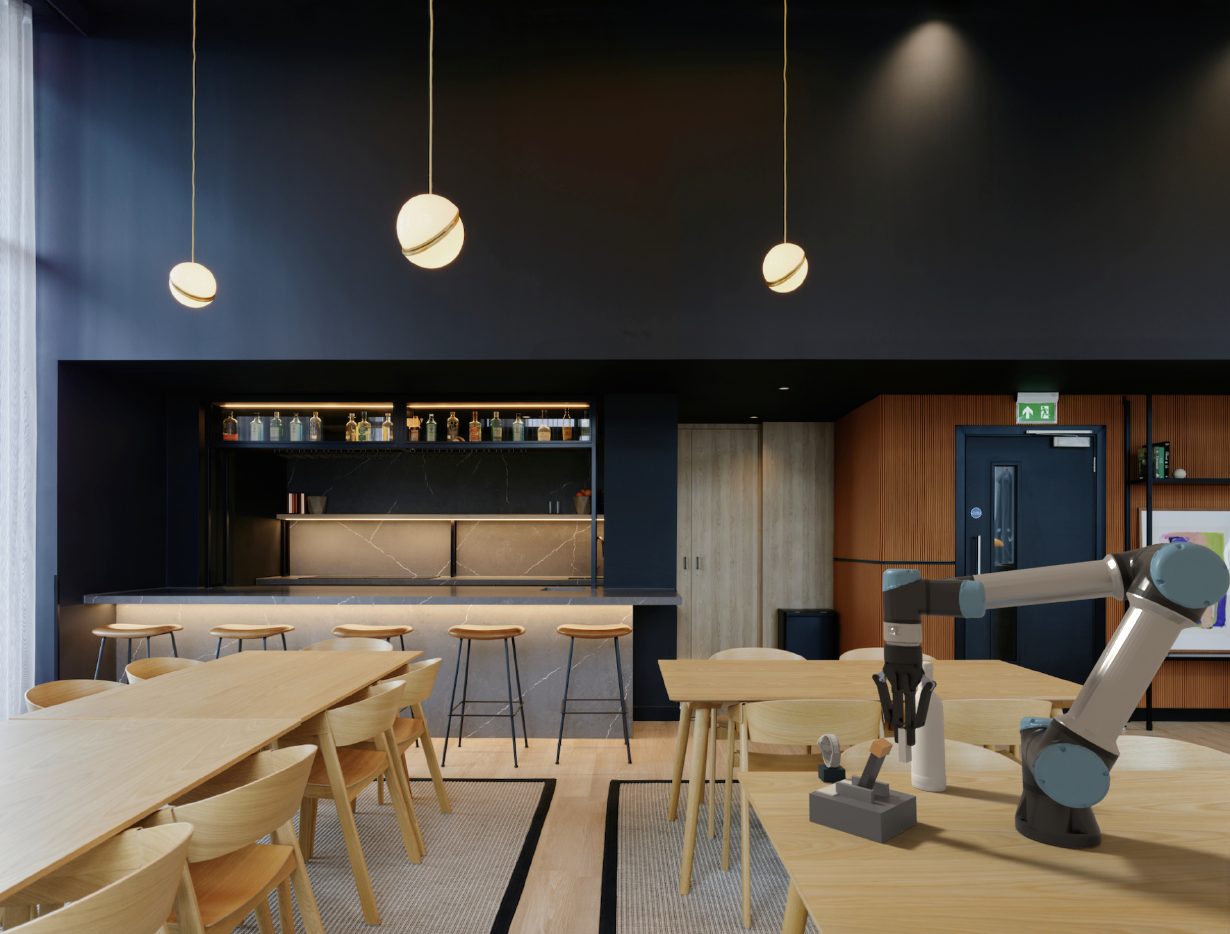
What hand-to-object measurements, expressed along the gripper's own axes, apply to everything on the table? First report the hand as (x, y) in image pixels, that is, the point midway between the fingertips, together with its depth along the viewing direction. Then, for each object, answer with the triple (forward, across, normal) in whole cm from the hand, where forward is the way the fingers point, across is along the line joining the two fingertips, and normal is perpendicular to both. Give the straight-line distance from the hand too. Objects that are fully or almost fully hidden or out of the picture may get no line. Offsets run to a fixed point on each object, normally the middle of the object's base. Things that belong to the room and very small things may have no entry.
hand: (905, 760), depth 151 cm
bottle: (+15, -10, +35) cm, 40 cm away
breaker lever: (+9, -10, 0) cm, 13 cm away
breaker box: (+15, -10, 0) cm, 17 cm away
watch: (+15, -29, +22) cm, 40 cm away
